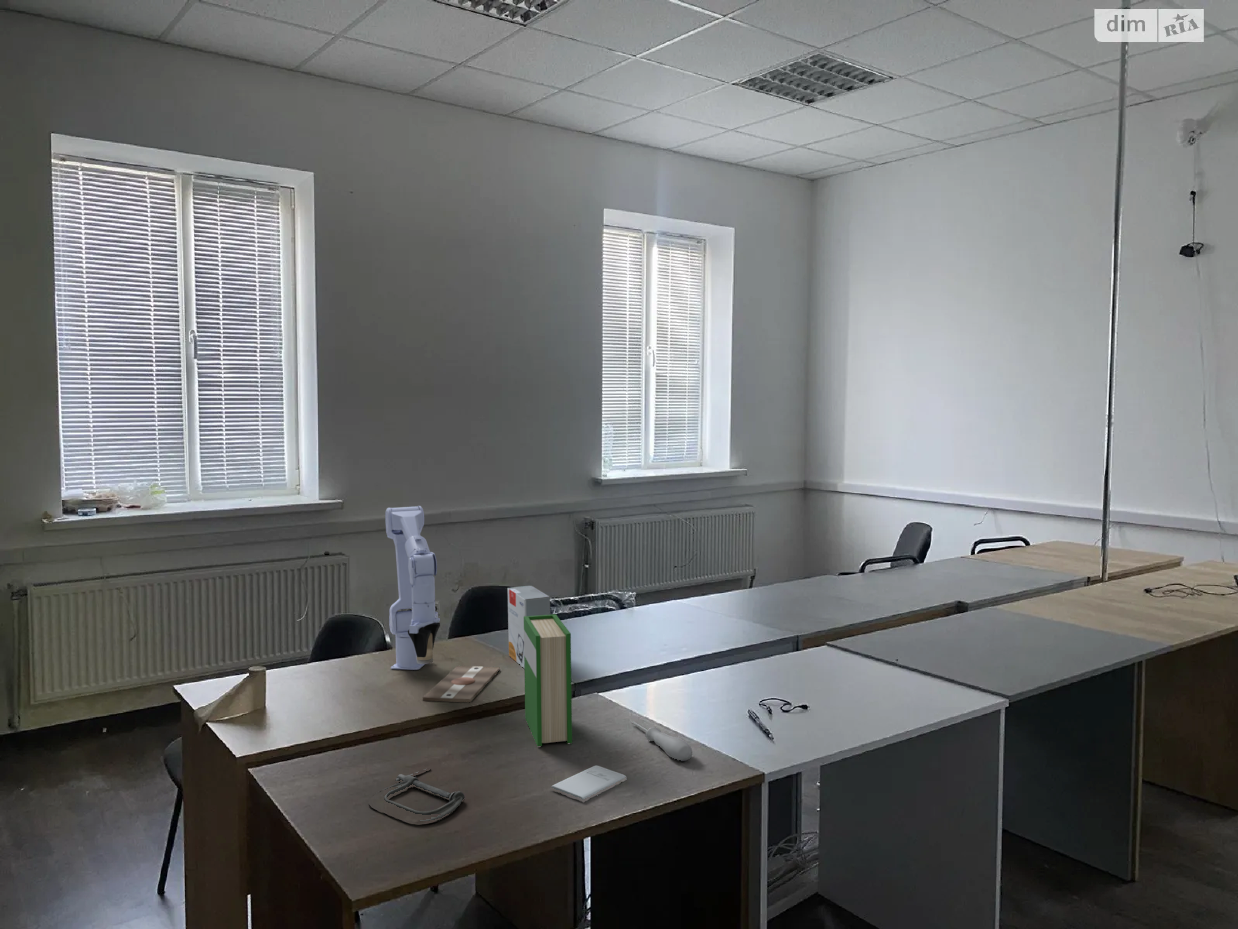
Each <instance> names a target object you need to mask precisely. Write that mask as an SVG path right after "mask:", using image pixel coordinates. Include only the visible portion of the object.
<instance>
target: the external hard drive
mask: <svg viewBox="0 0 1238 929" xmlns="http://www.w3.org/2000/svg"><path fill="white" fill-rule="evenodd" d="M625 777H626V778H627V776H626V775H625V774H623V773H620V772H617V771H614V770H612V769H609V768H606V767H603V766H601V765H593V766H591V767H589V768H587V769H585V770H582V771H580V772H578V773H576V774H574V775H572V776H569V777H568V778H565V779H563V780H561V781H559V782H556V783H555V784H553V785H551V786H550V788H551V787H552V788H554V789H556V790H560V791H562V792H565V793H567V794H571V795H573V796H575V797H579V798H581V799H582V800H583V799H585V798H587V797H590V796H591V795H593V794H596V793H597V792H599V791H600V790H603V789H605V788H606V787H609V786H611V785H613V784H615V783H616V782H618V781H620V780H622V779H624V778H625Z"/></svg>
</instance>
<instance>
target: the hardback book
mask: <svg viewBox="0 0 1238 929" xmlns="http://www.w3.org/2000/svg"><path fill="white" fill-rule="evenodd" d="M571 639H572V637H571V632H570V630H569V629H568V628H567V627H566V625H565V624H564V623H563V622H562V621H561V619H560V618H559V617H558V615H557V614H556V613H554V614H550V615H537V616H524V668H523V670H524V713H525V714H524V719H526V720H525V721H527V722H526V723H528V724H527V726H529V727H528V729H529V728H530V729H529V731H530V730H531V731H530V733H531V732H532V734H531V735H533V736H532V738H533V737H534V738H533V740H534V739H535V741H534V743H535V742H536V743H535V745H536V744H537V746H542V747H543V744H549V743H556V742H557V743H559V742H566V741H567V742H566V744H567V743H572V744H573V721H572V720H573V716H572V715H573V714H572V713H573V712H572V708H573V707H572V704H573V703H572V640H571ZM537 746H536V747H537Z"/></svg>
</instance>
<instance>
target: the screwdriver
mask: <svg viewBox="0 0 1238 929" xmlns="http://www.w3.org/2000/svg"><path fill="white" fill-rule="evenodd" d="M630 722H631V724H633V725H634V726H636V727H638V728H639V729H641V730H642V731H644V732H645V739H646V740H648V741H649V740H650V741H654V742H653V743H655V745H657V746H658V747H659V746H660V748H661V749H662V750H663V751H664V752H665V753H666V755H668V757H669V758H671V757H672V759H673V758H674V759H673V760H675V759H677V760H676V761H679V760H681V761H680V762H685V761H688V760H690V759H691V758H692V756H693V749H692V747H691V745H690V744H689V743H688V742H687V741H686V740H684V739H683V738H680V737H678V736H672V735H669V734H667V733H666V732H662V731H661V730H660V729H659V728H658V727H657V726H651V727H649V728H648V729H647V728H646V727H644V726H642V725H641V724H639V723H637V722H636V721H634V720H631V721H630ZM650 741H649V742H650Z"/></svg>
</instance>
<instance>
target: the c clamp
mask: <svg viewBox="0 0 1238 929" xmlns="http://www.w3.org/2000/svg"><path fill="white" fill-rule="evenodd" d="M426 769H427V768H426ZM426 769H424V770H426ZM418 772H419V771H417V772H415V773H418ZM411 775H413V773H411V774H407V775H406V774H405V775H404V774H402V773H400V774H398V775H397V776H396V778H395V781H400V780H402V781H403V782H400V783H394V784H393V785H390V786H387V787H385V788H383V789H382V790H386V789H388V788H389V787H390V788H391V787H398V788H396V789H394V790H391V791H389V792H388V793H387V794H386V795H385V796H384V800H385V801H386V802H388V803H391V804H394V805H396V806H397V807H399V808H403V809H405V810H406V811H410V812H413V813H415V814H422V815H431V814H441V815H438V816H437V817H431V819H426V820H420V821H430V820H435V819H438V818H442V817H443V816H445V815H446V814H449V813H451V812H452V811H454V810H455V809H456V808H457V807H458V806H459V807H460V805H461V804H462V803H461V802H462V800H463V799H464V798H466V797H465V794H464V792H462V791H460V790H458V791H453V792H448V791H446V790H444V789H441V788H438V787H435V786H432V785H430V784H428V783H425V782H422V781H420V780H419V778H417V776H415V777H413V776H411ZM412 784H413V785H415V786H416V787H420V788H423V789H424V790H428V791H431V792H432V793H434V794H439V795H440V796H442V797H446V798H449V801H448V802H447V803H445V804H444V805H442V806H440V807H438V808H435V809H433V810H427V811H421V810H415V809H413V808H411V807H410V806H409V807H408V806H405V805H403V804H401V803H398V802H395V801H393V800H391V799H390V800H388V799H387V797H388V796H389V795H390V794H394V793H395V792H398V791H400V790H403V789H405V788H406V787H409V786H410V785H412ZM401 785H402V786H401ZM375 793H376V794H377V792H375ZM464 800H465V799H464ZM459 807H458V808H459ZM458 808H457V809H458ZM457 809H456V810H457ZM456 810H455V811H456ZM455 811H454V812H455ZM452 813H453V812H452ZM452 813H451V814H452Z"/></svg>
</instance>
